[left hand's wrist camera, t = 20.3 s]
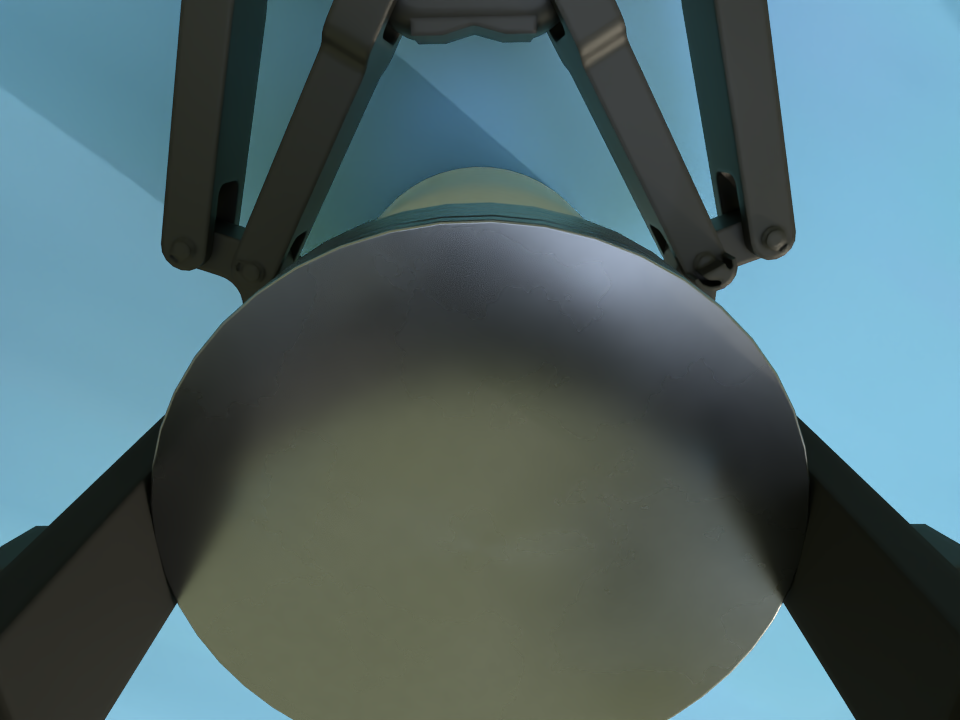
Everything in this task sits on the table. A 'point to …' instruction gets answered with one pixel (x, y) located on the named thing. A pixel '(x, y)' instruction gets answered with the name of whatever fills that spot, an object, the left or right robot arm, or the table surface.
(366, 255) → the lid
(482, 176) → the jar
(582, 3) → the right robot arm
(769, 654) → the table surface
